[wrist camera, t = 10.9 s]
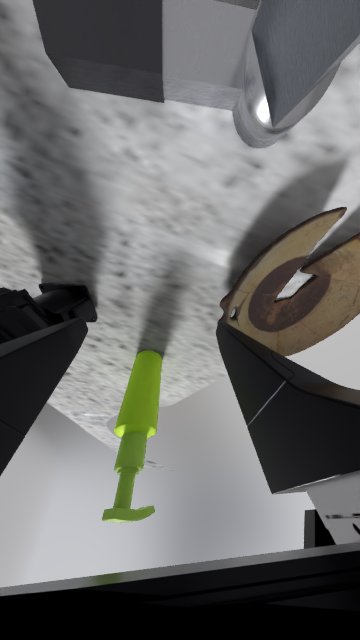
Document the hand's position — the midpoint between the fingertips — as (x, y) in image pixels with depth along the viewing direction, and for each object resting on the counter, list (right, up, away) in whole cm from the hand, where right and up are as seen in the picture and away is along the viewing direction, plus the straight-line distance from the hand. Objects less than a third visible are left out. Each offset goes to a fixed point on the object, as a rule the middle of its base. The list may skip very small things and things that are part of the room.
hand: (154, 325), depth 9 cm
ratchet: (+3, +21, +2) cm, 22 cm away
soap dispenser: (-5, -9, +21) cm, 23 cm away
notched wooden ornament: (+22, +4, +15) cm, 27 cm away
